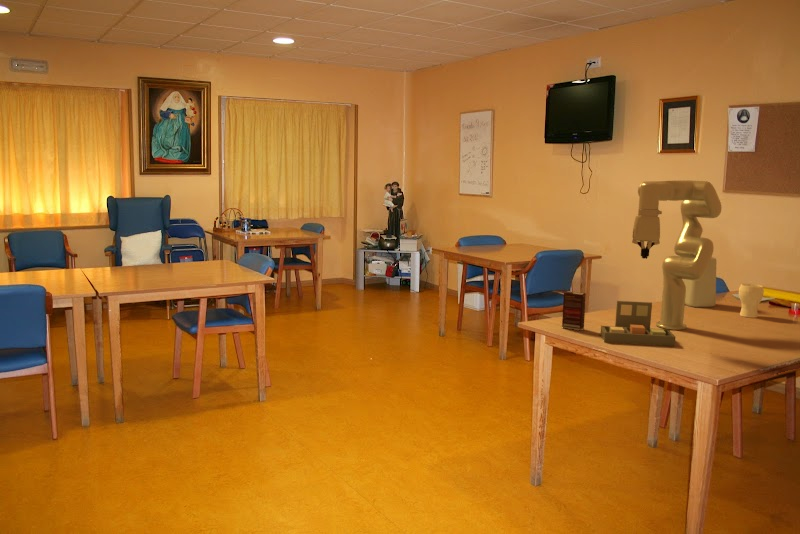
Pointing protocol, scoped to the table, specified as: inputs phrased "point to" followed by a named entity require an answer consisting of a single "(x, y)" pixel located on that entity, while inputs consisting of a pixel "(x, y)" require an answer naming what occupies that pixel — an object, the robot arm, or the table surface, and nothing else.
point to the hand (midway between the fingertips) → (644, 258)
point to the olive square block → (657, 332)
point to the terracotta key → (637, 329)
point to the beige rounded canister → (702, 288)
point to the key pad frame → (637, 337)
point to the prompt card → (633, 313)
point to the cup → (750, 299)
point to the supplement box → (573, 310)
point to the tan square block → (616, 330)
